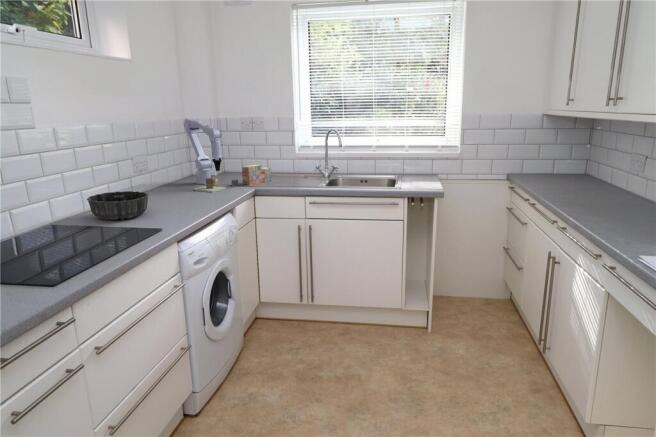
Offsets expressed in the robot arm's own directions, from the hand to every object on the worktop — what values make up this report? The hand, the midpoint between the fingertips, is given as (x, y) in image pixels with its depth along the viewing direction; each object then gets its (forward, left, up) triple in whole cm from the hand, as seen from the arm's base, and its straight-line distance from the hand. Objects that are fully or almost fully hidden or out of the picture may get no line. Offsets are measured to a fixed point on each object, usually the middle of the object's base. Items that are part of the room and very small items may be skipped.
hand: (217, 170), depth 281 cm
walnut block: (+4, -12, -9) cm, 16 cm away
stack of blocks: (+14, +23, -11) cm, 29 cm away
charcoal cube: (+8, +7, -11) cm, 15 cm away
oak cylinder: (-1, -2, -11) cm, 11 cm away
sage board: (+4, -12, -10) cm, 16 cm away
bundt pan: (+14, -82, -11) cm, 84 cm away
